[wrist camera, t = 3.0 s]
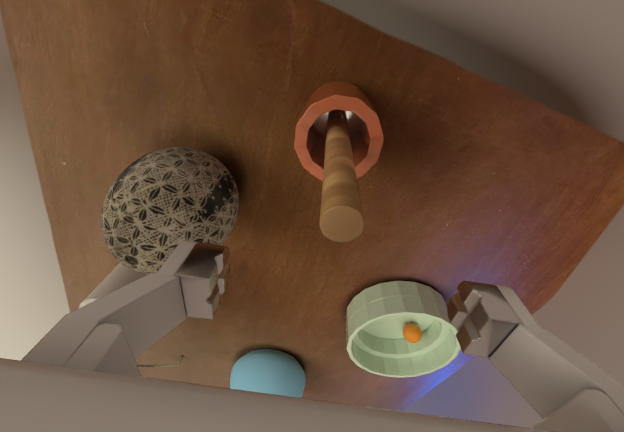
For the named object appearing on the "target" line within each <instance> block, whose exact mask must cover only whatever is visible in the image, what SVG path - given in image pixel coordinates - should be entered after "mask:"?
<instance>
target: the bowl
mask: <svg viewBox="0 0 624 432" xmlns="http://www.w3.org/2000/svg"><path fill="white" fill-rule="evenodd" d="M447 307H448V305H447V303H446V302H445V300H444V298H443V297H442V295H441V294H439V293H438V292H437V291H435V290H434V289H432V288H431V287H429V286H426V285H423V284H420V283H417V282H410V281H392V282H385V283H379V284H377V285H374V286H372V287H369V288H366V289H364V290H363V291H362V292H360V293H359V294H358V295H356V296H355V297H354V298H353V299H352V301H351V302H350V304H349V305H348V307H347V311H346V340H347V350H348V353H349V356H350V358H351V359H352V360H353V361H354V362H355V363H356V364H357V365H358V366H359V367H361V368H363V369H364V370H366V371H368V372H371V373H374V374H378V375H382V376H388V377H400V378H401V377H414V376H420V375H424V374H428V373H432V372H434V371H436V370H438V369H440V368H442V367H445V366H446V365H447V364H449V363H450V362H451V361H452V360H453V359H455V358H456V356H457V354H458V353H459V351H460V349H461V347H460V345H459V342H458V340H457V337H456V333H457V329H456V328H455V327H454V326H453V325H452V324H451V323H450V321H449V318H448V313H447ZM408 323H413V324H416V325H417V326H419V328H420V329H421V332H422V337H421V339H420V341H418V342H416V343H410V342H408V341H407V340H406V339H405V338H404V336H403V332H402V331H403V328H404V326H405V325H406V324H408Z"/></svg>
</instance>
